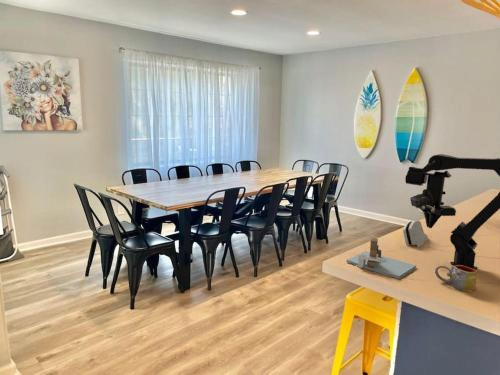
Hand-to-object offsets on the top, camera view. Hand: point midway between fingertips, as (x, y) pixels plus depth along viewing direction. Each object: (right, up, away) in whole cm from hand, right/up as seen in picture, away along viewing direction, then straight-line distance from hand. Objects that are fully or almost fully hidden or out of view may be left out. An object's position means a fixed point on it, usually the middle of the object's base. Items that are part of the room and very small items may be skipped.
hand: (429, 227), depth 143 cm
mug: (-2, -17, -22) cm, 27 cm away
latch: (-23, -11, -5) cm, 26 cm away
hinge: (+4, -9, +22) cm, 24 cm away
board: (-21, -13, -6) cm, 25 cm away
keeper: (-25, -14, -9) cm, 30 cm away
